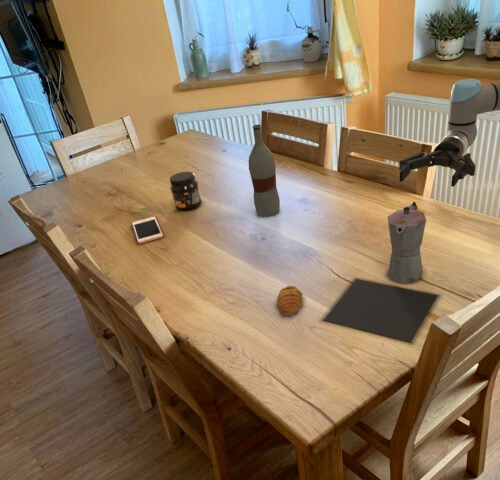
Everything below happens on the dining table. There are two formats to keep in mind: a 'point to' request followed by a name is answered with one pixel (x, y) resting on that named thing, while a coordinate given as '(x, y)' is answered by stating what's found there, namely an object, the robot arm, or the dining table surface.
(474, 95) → the robot arm
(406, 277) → the moka pot
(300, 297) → the pastry
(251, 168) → the bottle
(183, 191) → the supplement container
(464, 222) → the dining table surface
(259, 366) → the dining table surface
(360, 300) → the mat
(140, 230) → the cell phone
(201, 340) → the dining table surface
